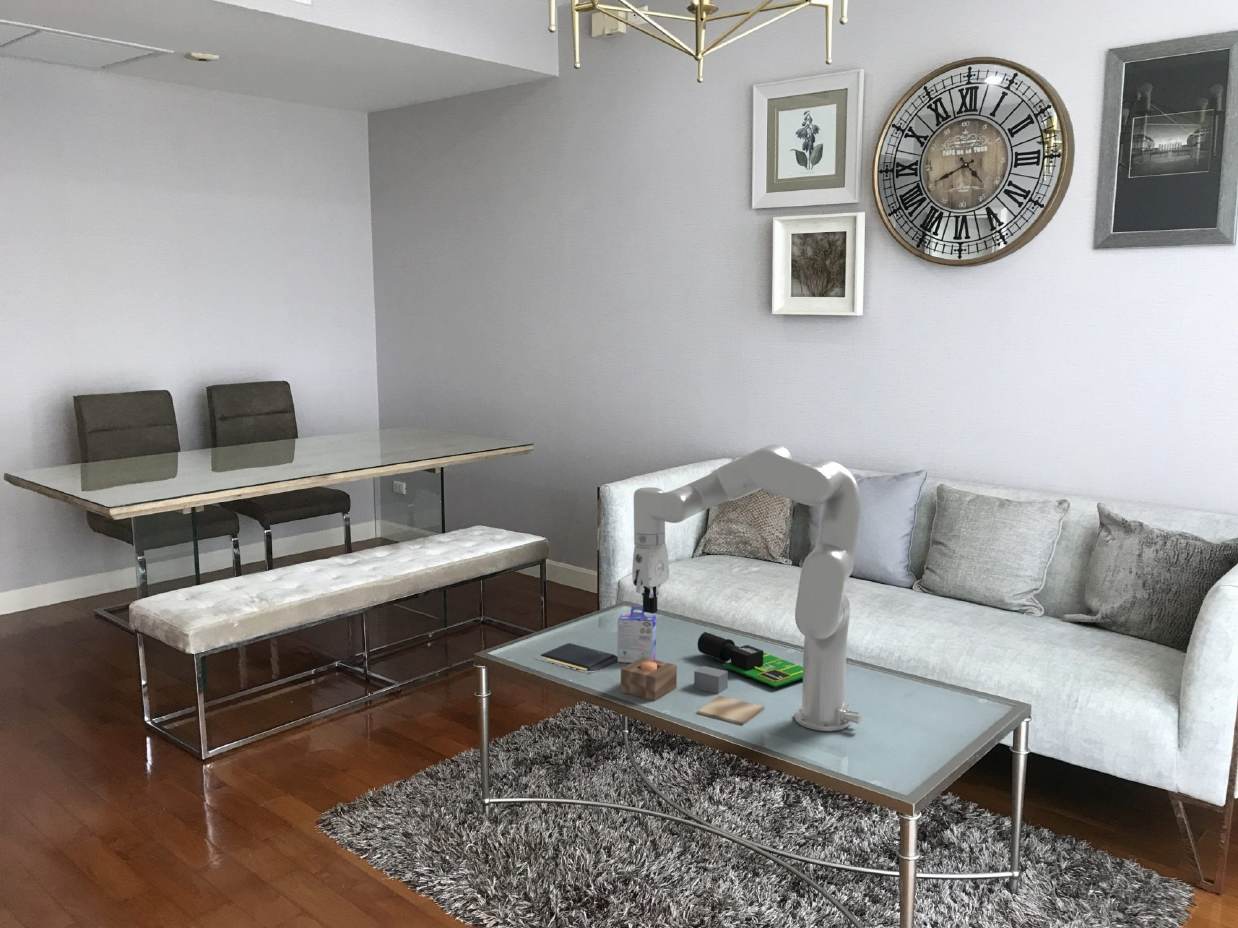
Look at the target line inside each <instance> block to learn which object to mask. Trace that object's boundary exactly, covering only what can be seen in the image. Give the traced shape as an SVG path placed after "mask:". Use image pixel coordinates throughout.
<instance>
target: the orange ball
mask: <svg viewBox="0 0 1238 928" xmlns="http://www.w3.org/2000/svg"><path fill="white" fill-rule="evenodd" d="M641 669H642V670H647V671H651V672H652V671H654V670H656V669H657V664H656V663H654V662H643V663H641Z"/></svg>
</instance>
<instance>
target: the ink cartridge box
mask: <svg viewBox="0 0 1238 928" xmlns="http://www.w3.org/2000/svg"><path fill="white" fill-rule="evenodd" d="M637 610H639V611H641V612H634V611H637ZM617 656H618V661H617V662H616V663H627V664H628V663H629V664H631V663H633V662H635V661H637V660H639V659H641V658H642V657H644V658H649V659H653V660H657V616H656V615H655V614H654V615H653V614H645V612H644V611H643V606H631V610H630V613H628V614H627V613H621V615H620V616H619V617H618V618H617Z"/></svg>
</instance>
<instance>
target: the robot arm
mask: <svg viewBox="0 0 1238 928" xmlns="http://www.w3.org/2000/svg"><path fill="white" fill-rule="evenodd" d="M858 485H859V484H858V483H857V480H856V478H855V477H854V475H852V474H851V472H850V471H849V470H848V469H847V468H845V466H843V465H841V464H840V463H838V462H836V461H833V460H828V459H827V460H826V459H825V460H824V459H822V460H818V461H815V462H814V463H812V464H806V463H803V462H799V461H796V460H794V459H793V457H792V455H791V453H790V451H789V450H788V449H787V448H786V447H785V446H782V445H779V444H770V445H767V446H764V447H761V448H759V449H756V450H755V451H753V452H750V453H748V454H746V455H744V456H742V457H740V458H737V459H735V460H732V461H730V462H728V463H726V464H724V465H722V466H719V467H718V468H717V469H716V470H715V471H713V472H712V473H710V474H707V475H704V476H703V477H701V478H699V479H696V480H694V481H692V482H690V483H688V484H685V485H682V486H680V487H677V488H675V489H673V490H670V491H665V492H664V490H663V489H662V488H660V487H648V486H647V487H646V486H645V487H640V488H637V489H636V490H635V491H634V493H633V545H634V546H633V547H634V548H633V555H632V570H631V572H632V584H633V585H634V587H635V592H636V593H638V594H640V595H641V597H642V607H643V611H644V613H647V614H651V615H653V614H655V613H657V612H658V596H659V593H660V587H661V586H662V585H664V583H666V582H668V580H669V579H670V567H669V566H670V564H669V553H668V546H667V543H666V533H665V532H666V526H665V525H666V523H671V524H677V523H681V522H684V521H686V520H687V519H688V518H689V519H690V518H691V517H692V516H693V517H694V516H695V515H697V514H699V513H701V512H705V511H706V510H708V509H710V508H713V507H715V506H717V505H720V504H723V503H725V502H729V501H732V502H733V501H736V500H739V499H741V498H743V497H746V496H749V495H751V494H753V493H755V492H757V491H760V490H762V489H763V490H764V491H768V492H770V493H772V494H775V495H778V496H779V497H783V498H785V499H788V500H790V501H794V502H797V503H799V504H802V505H806V506H814V507H815V506H818V505H822V510H821V514H820V519H819V524H818V533H817V539H816V544H815V547H814V549H813V550H812V551H811V552H810V553H808V554H807V556H806V557H805V559H804V562H803V563H802V567H801V570H800V575H799V582H798V590H797V596H796V602H795V609H794V621H795V625H796V627H797V629H798V631H800V633H801V634H802V635H803V636H804V639H803V640H804V641H803V658H802V659H803V664H802V665H803V666H802V667H803V678H802V692H801V693H802V695H801V696H802V698H801V700H802V701H801V707H800V708H798V709H797V710H795V713H794V719H795V721H796V722H797V724H799V725H801V726H802V727H805V728H808V729H810V730H815V731H821V732H835V731H842V730H844V729H846V728H848V727H849V726H850V725H851V724H852V723H853V724H858V725H860V724H861V722H862V715H861V713H860V711H858V710H852V709H850V708H849V704H850V703H849V702H848V701H845V700H846V699H845V697H846V674H847V673H846V672H847V671H846V668H847V650H848V636H849V634H848V633H849V625H850V617H851V605H850V602H849V601H850V600H849V598H848V595H846V593H845V592H844V586H845V582H846V581H847V580H849V579H848V578H849V577H850V576H851V575H852V573H853V570H854V566H855V564H854V563H855V557H856V555H855V554H856V549H857V548H856V547H857V541H858V536H859V535H858V533H859V525H860V520H861V519H860V518H861V509H862V507H861V506H862V499H861V493H860V492H861V491H860V488H859V486H858Z"/></svg>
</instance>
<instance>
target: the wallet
mask: <svg viewBox="0 0 1238 928" xmlns="http://www.w3.org/2000/svg"><path fill="white" fill-rule="evenodd" d="M540 655H541V656H542V657H543V658H547V659H546V660H550V661H552V662H556V663H559V664H562V665H566V666H568V667H570V668H576V670H583V671H586V670H587V671H596V670H598V671H600V669H601V670H602V668H603V669H604V668H607V667H609V666H611V665H614V664H616V663H618V662H617V661H618V655H615V654H613V653H610V652H605V651H602V650H597V649H594V648H591V647H590V648H589V647H586V646H583V645H579V644H574V643H572V642H568V643H565V644H562V645H560V646H558V647H555V648H553V649H551V650H548V651H546V652H544V653H541V654H540ZM549 658H550V659H549ZM576 670H575V671H576ZM596 672H597V671H596ZM589 673H590V672H589Z"/></svg>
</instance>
